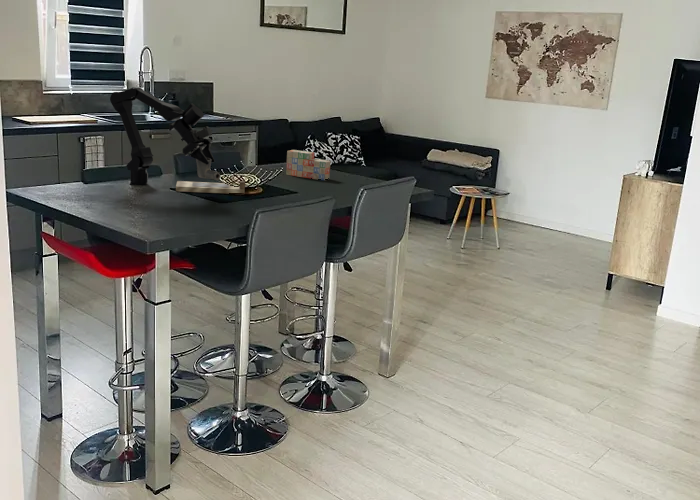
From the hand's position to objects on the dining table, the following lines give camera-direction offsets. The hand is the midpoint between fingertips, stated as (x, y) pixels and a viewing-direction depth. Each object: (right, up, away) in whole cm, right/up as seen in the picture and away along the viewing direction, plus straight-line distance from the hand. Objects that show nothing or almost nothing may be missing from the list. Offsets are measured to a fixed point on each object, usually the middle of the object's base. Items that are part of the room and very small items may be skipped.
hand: (211, 162), depth 282 cm
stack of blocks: (+35, +1, +64) cm, 73 cm away
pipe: (-2, -6, +2) cm, 7 cm away
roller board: (-3, -10, +12) cm, 16 cm away
